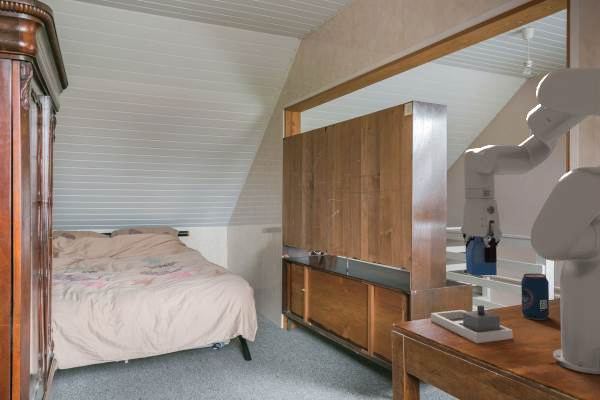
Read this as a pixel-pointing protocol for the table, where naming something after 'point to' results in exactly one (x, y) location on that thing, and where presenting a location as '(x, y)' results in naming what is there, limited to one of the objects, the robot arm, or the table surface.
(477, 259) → the perfume bottle
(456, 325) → the socket strip
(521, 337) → the table surface
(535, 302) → the soda can
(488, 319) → the charcoal plug block
